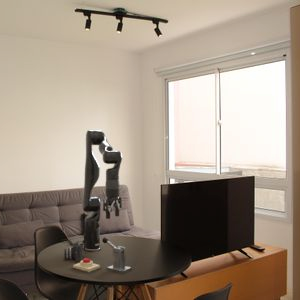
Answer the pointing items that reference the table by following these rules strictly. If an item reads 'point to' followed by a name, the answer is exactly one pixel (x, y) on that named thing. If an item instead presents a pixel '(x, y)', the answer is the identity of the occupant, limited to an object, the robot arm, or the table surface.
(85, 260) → the button
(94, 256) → the table surface
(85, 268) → the button block
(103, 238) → the lever handle
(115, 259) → the base
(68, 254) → the camera
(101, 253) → the table surface
